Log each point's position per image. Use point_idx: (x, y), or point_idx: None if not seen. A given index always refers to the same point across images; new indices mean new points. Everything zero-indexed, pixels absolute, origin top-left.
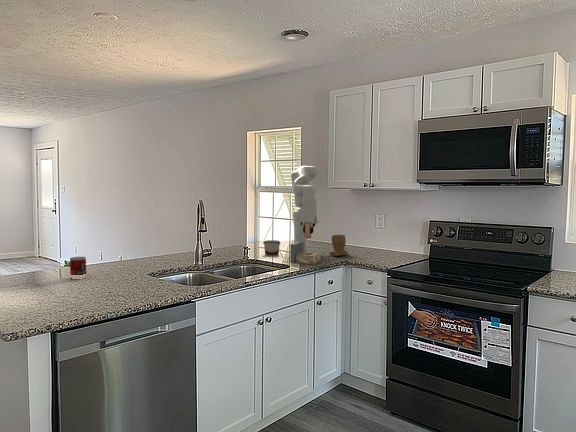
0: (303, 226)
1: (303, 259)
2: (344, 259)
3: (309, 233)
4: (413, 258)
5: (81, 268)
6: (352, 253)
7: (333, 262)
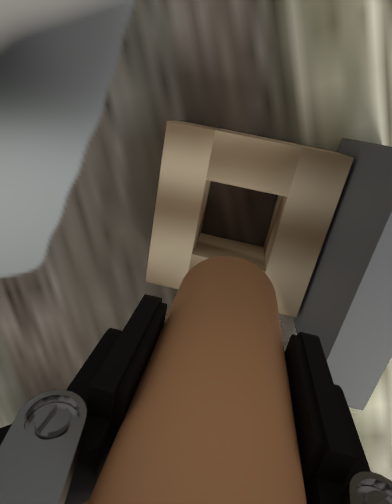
0: (365, 495)
1: (265, 138)
2: (43, 347)
3: (182, 305)
4: None
5: None
6: None
7: (70, 239)
